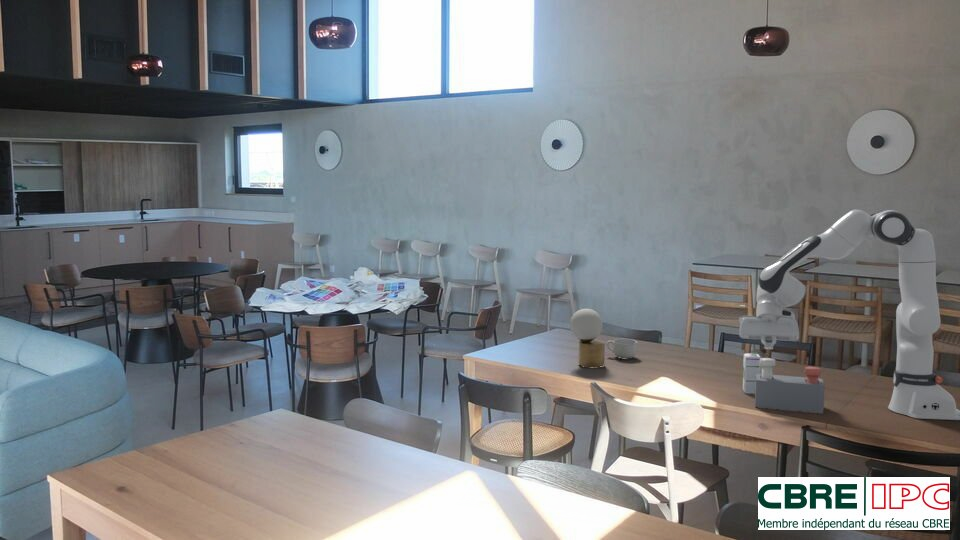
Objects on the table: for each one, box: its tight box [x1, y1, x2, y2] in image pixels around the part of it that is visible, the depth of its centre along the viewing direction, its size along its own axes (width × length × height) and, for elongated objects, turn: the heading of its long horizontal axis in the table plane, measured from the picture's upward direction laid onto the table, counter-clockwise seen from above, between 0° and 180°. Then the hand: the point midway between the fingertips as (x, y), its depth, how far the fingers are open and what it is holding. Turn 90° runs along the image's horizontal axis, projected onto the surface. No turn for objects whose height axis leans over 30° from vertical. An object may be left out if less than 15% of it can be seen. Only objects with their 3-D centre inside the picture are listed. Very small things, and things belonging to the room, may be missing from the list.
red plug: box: [804, 366, 822, 383], centre depth 268 cm, size 5×5×14 cm
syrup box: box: [742, 352, 762, 395], centre depth 289 cm, size 6×6×14 cm
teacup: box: [605, 337, 638, 359], centre depth 348 cm, size 14×11×8 cm
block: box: [754, 373, 826, 415], centre depth 271 cm, size 22×10×10 cm, turn 70°
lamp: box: [569, 308, 606, 368], centre depth 332 cm, size 15×14×25 cm
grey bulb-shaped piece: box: [760, 357, 776, 379], centre depth 272 cm, size 5×5×14 cm
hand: (768, 348), depth 271 cm, fingers closed
